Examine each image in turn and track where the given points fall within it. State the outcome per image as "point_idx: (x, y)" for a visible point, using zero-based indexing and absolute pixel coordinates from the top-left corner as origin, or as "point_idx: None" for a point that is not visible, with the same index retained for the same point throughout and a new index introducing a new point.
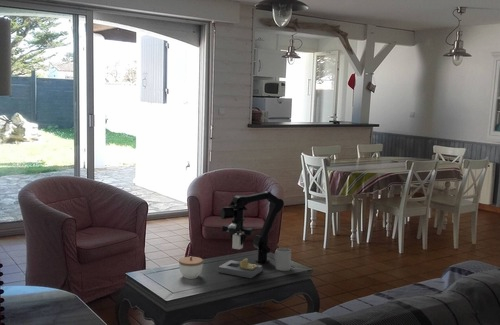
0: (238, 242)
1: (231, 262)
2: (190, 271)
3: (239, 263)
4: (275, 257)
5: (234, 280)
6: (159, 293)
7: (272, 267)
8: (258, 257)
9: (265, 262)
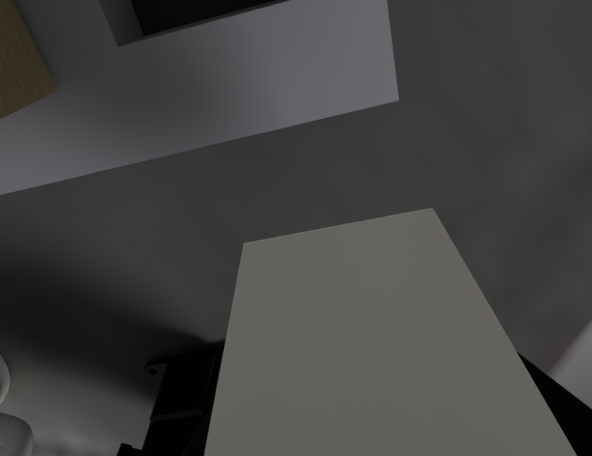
0: (254, 370)
1: (307, 11)
2: None
3: (178, 68)
4: (10, 450)
5: None
6: None
7: (14, 329)
8: (197, 387)
9: (147, 374)
